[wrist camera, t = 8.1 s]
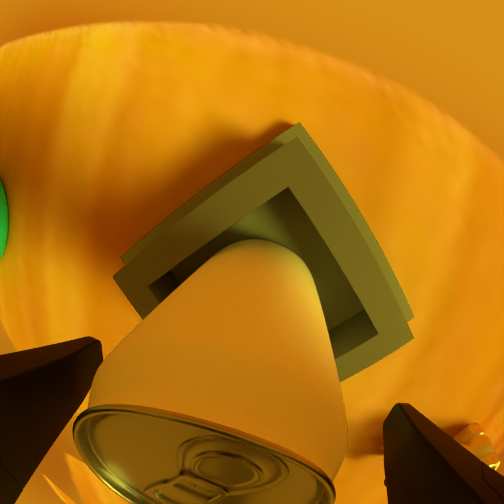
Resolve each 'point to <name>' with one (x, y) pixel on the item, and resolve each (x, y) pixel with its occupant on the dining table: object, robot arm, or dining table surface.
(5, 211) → the donuts
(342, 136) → the dining table surface
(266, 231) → the socket holder
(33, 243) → the dining table surface
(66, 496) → the dining table surface
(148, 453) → the can
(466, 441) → the valve
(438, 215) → the dining table surface
